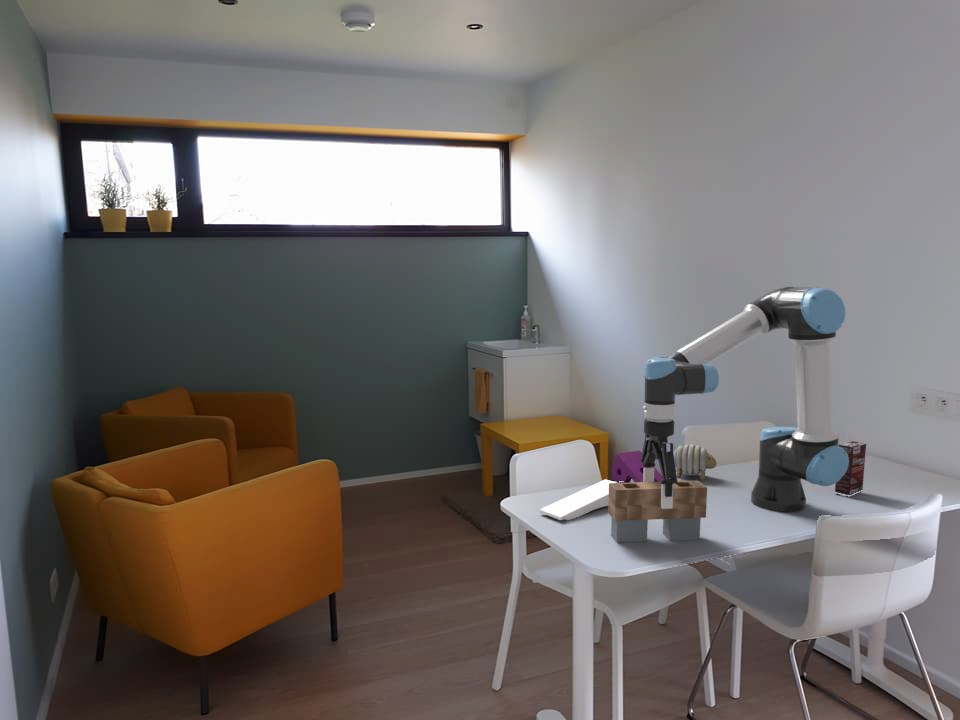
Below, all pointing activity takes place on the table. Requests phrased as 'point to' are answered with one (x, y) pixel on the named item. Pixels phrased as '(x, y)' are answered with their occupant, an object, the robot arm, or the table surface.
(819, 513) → the table surface
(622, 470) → the mounting bracket
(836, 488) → the supplement box
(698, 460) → the toy sheep
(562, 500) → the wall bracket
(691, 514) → the walnut rail
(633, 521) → the peg blocks
